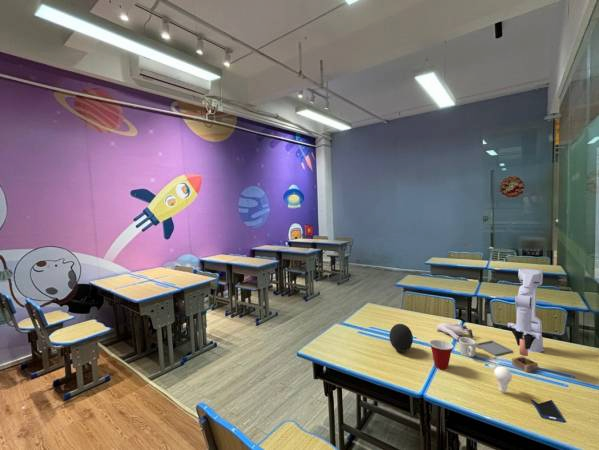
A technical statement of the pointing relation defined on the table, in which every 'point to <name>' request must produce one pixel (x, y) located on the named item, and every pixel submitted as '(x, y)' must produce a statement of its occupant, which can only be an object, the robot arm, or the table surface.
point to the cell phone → (549, 411)
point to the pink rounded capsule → (523, 347)
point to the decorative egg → (401, 337)
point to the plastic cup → (441, 353)
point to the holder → (524, 364)
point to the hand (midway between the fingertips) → (523, 346)
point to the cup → (467, 346)
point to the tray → (493, 348)
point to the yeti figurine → (454, 330)
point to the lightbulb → (503, 378)
